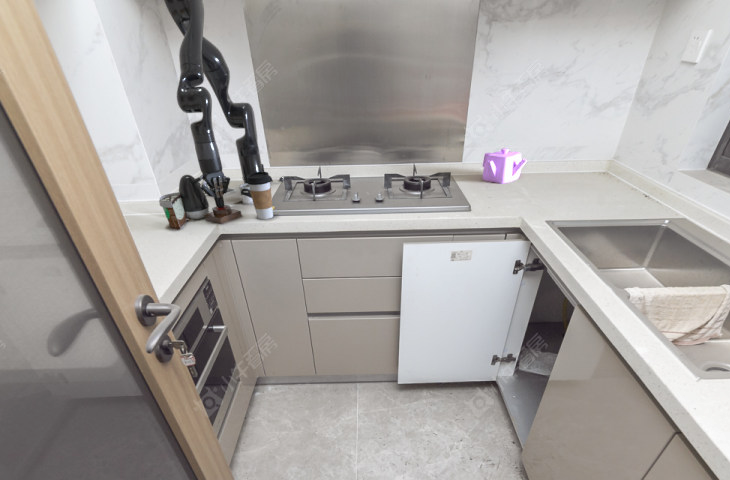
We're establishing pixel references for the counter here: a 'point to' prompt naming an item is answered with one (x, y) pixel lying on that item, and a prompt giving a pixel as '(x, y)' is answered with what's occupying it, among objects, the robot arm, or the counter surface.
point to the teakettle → (502, 166)
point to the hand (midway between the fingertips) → (220, 207)
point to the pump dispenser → (193, 197)
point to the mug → (246, 194)
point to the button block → (222, 215)
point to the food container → (174, 210)
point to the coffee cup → (261, 194)
